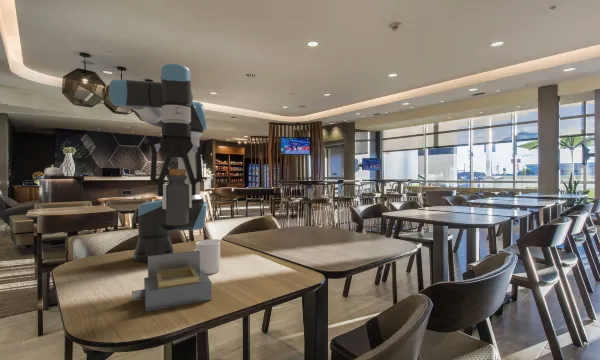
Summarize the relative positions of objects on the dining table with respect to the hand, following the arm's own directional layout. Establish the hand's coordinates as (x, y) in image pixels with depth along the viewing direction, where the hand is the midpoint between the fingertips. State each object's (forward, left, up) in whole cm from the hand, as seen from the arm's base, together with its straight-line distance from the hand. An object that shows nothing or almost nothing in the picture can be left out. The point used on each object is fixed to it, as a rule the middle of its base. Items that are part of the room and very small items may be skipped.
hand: (177, 207), depth 88 cm
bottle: (0, 0, -5) cm, 5 cm away
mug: (-20, +11, -25) cm, 34 cm away
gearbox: (0, -2, -25) cm, 25 cm away
